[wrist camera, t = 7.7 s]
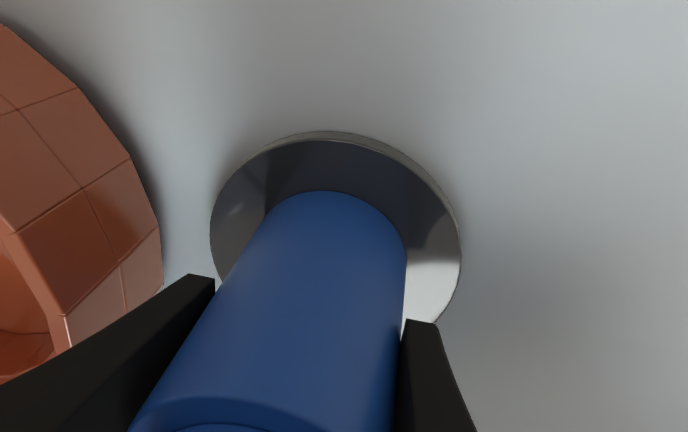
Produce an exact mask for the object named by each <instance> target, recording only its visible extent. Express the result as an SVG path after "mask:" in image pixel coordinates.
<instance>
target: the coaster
mask: <svg viewBox="0 0 688 432" xmlns="http://www.w3.org/2000/svg"><path fill="white" fill-rule="evenodd" d="M312 191H333V192H340V193H344V194H348V195H351V196H353V197H356V198H359V199H361V200H363V201H365V202H367V203H368V204H370V205H371V206H373V207H374V208H376V209H377V210H378V211H380V212H381V213H382V214H383V215H384V216H385V217H386V218H387V219H388V220H389V221H390V222H391V223H392V225H393V226H394V228H395V229H396V230H397V232H398V234H399V236H400V238H401V240H402V242H403V245H404V248H405V253H406V260H407V268H406V280H405V293H404V305H403V317H402V329H401V337H402V333H403V329H404V325H405V321H406V318H408V319H413V320H418V321H423V322H428V323H434V322H436V321H437V319H438V318H439V317H440V316H441V315H442V313H443V312H444V311H445V310H446V308H447V306H448V305H449V303H450V301H451V299H452V298H453V295H454V293H455V290H456V288H457V285H458V281H459V277H460V272H461V258H462V255H461V245H460V236H459V229H458V226H457V222H456V218H455V215H454V213H453V211H452V208H451V206H450V204H449V202H448V200H447V199H446V197H445V195H444V194H443V192H442V190H441V189H440V187H439V186H438V185H437V184H436V183H435V181H434V180H433V179H432V178H431V177H430V175H429V174H427V173H426V172H425V171H424V170H423V169H422V168H421V167H420V166H419V165H418V164H417V163H415V162H414V161H412V160H411V159H410V158H408V157H407V156H405V155H404V154H402V153H401V152H399V151H397V150H395V149H393V148H391V147H389V146H388V145H386V144H383V143H381V142H378V141H375V140H373V139H370V138H367V137H363V136H359V135H355V134H350V133H342V132H333V131H326V132H309V133H302V134H296V135H293V136H289V137H286V138H282V139H280V140H277V141H275V142H273V143H271V144H269V145H266V146H265V147H263V148H262V149H260V150H258V151H257V152H255V153H254V154H252V155H251V156H250V157H249V158H248V159H247V160H246V161H245V162H243V163H242V164H241V165H240V166H239V167H238V169H237V170H236V171H235V172H234V173H233V174H232V175H231V177H230V178H229V179H228V180H227V182H226V183H225V184H224V186H223V188H222V190H221V191H220V193H219V195H218V197H217V200H216V202H215V205H214V208H213V212H212V216H211V221H210V245H211V252H212V256H213V260H214V264H215V267H216V269H217V272H218V274H219V277H220V279H221V280H222V282H223V281H224V279H225V278H226V276H227V275H228V273H229V272H230V270H231V269H232V267H233V265H234V264H235V262H236V261H237V259H238V258H239V256H240V255H241V253H242V252H243V250H244V248H245V247H246V245H247V244H248V242H249V241H250V239H251V238H252V236H253V235H254V233H255V232H256V230H257V228H258V227H259V225H260V224H261V222H262V221H263V219H264V218H265V216H266V215H267V214H268V213H269V212H270V211H271V209H272V208H274V207H275V206H276V205H277V204H279V203H280V202H282V201H284V200H285V199H287V198H289V197H292V196H294V195H297V194H301V193H305V192H312Z"/></svg>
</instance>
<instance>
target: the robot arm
mask: <svg viewBox="0 0 688 432" xmlns="http://www.w3.org/2000/svg"><path fill="white" fill-rule="evenodd" d="M214 295H215V279H214V278H209V277H204V276H199V275H194V274H189V273H188V274H187V275H185V276H184V277H182V278H180V279H179V280H177V281H176V282H174V283H173V284H171V285H170V286H168V287H167V288H165V289H164V290H162V291H161V292H159V293H158V294H156V295H155V296H153V297H152V298H150V299H149V300H147V301H145V302H144V303H142V304H141V305H139V306H138V307H136V308H135V309H133V310H132V311H130V312H129V313H127V314H125V315H124V316H122V317H121V318H119V319H118V320H116V321H114V322H113V323H111V324H110V325H108V326H107V327H105V328H103V329H102V330H100V331H99V332H97V333H95V334H93V335H92V336H90V337H88V338H87V339H85V340H83V341H81V342H80V343H78V344H76V345H74V346H73V347H71V348H69V349H68V350H66V351H64V352H62V353H61V354H59V355H57V356H56V357H54V358H52V359H50V360H48V361H46V362H45V363H43V364H41V365H39V366H37V367H35V368H33V369H31V370H29V371H27V372H26V373H24V374H22V375H20V376H17V377H15V378H13V379H11V380H9V381H7V382H5V383H3V384H1V385H0V432H127V431H128V428H129V426H130V424H131V423H132V421H133V420H134V418H135V416H136V415H137V413H138V412H139V410H140V409H141V407H142V406H143V404H144V403H145V401H146V399H147V398H148V396H149V395H150V393H151V392H152V390H153V389H154V387H155V386H156V384H157V383H158V381H159V379H160V378H161V376H162V375H163V373H164V372H165V370H166V369H167V367H168V366H169V364H170V363H171V361H172V359H173V358H174V356H175V355H176V353H177V352H178V350H179V349H180V347H181V346H182V344H183V342H184V341H185V339H186V338H187V336H188V335H189V333H190V332H191V330H192V329H193V327H194V326H195V324H196V322H197V321H198V319H199V318H200V316H201V315H202V313H203V312H204V310H205V309H206V307H207V305H208V304H209V302H210V301H211V299H212V298H213V296H214ZM393 432H477V430H476V427H475V425H474V423H473V421H472V419H471V416H470V414H469V412H468V409H467V407H466V405H465V402H464V400H463V398H462V395H461V393H460V390H459V388H458V385H457V383H456V380H455V378H454V375H453V372H452V370H451V367H450V364H449V361H448V358H447V355H446V352H445V349H444V346H443V343H442V340H441V336H440V332H439V329H438V328H437V326H436V325H435V324H433V323H428V322H423V321H418V320H413V319H408V318H406V321H405V325H404V329H403V333H402V337H401V341H400V352H399V364H398V376H397V390H396V402H395V414H394V427H393Z"/></svg>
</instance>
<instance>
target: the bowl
mask: <svg viewBox="0 0 688 432" xmlns="http://www.w3.org/2000/svg"><path fill="white" fill-rule="evenodd" d="M163 281H164V276H163V265H162V253H161V242H160V230H159V225H158V221H157V219H156V217H155V214H154V212H153V209H152V207H151V205H150V202H149V200H148V197H147V195H146V193H145V190H144V188H143V185H142V183H141V181H140V178H139V176H138V174H137V171H136V169H135V166H134V164H133V162H132V160H131V159H130V155H129V154H128V152H127V151H126V150H125V148H124V147H123V146H122V144H121V143H120V142H119V140H118V139H117V138H116V136H115V135H114V134H113V132H112V131H111V130H110V128H109V127H108V126H107V124H106V123H105V122H104V120H103V119H102V118H101V116H100V115H99V114H98V112H97V111H96V110H95V108H94V107H93V106H92V104H91V103H90V102H89V100H88V99H87V98H86V96H85V95H84V94H83V92H82V91H81V90H80V89H79V88H78V86H77V85H76V84H74V83H73V82H72V81H71V80H70V79H68V78H67V77H66V76H65V75H64V74H63V73H61V72H60V71H59V70H58V69H57V68H55V67H54V66H53V65H52V64H51V63H50V62H48V61H47V60H46V59H45V58H44V57H42V56H41V55H40V54H39V53H38V52H37V51H35V50H34V49H33V48H32V47H31V46H29V45H28V44H27V43H26V42H25V41H24V40H22V39H21V38H20V37H19V36H18V35H16V34H15V33H14V32H13V31H12V30H11V29H9V28H8V27H4V26H3V25H2V24H0V385H1V384H3V383H5V382H7V381H9V380H11V379H13V378H15V377H17V376H20V375H22V374H24V373H26V372H27V371H29V370H31V369H33V368H35V367H37V366H39V365H41V364H43V363H45V362H46V361H48V360H50V359H52V358H54V357H56V356H57V355H59V354H61V353H62V352H64V351H66V350H68V349H69V348H71V347H73V346H74V345H76V344H78V343H80V342H81V341H83V340H85V339H87V338H88V337H90V336H92V335H93V334H95V333H97V332H99V331H100V330H102V329H103V328H105V327H107V326H108V325H110V324H111V323H113V322H114V321H116V320H118V319H119V318H121V317H122V316H124V315H125V314H127V313H129V312H130V311H132V310H133V309H135V308H136V307H138V306H139V305H141V304H142V303H144V302H145V301H147V300H149V299H150V298H152V297H153V296H155V295H156V294H158V293H159V292H161V290H162V287H163V284H164V282H163Z"/></svg>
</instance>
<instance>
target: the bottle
mask: <svg viewBox="0 0 688 432" xmlns="http://www.w3.org/2000/svg"><path fill="white" fill-rule="evenodd" d="M406 268H407V260H406V253H405V248H404V245H403V242H402V240H401V238H400V236H399V234H398V232H397V230H396V229H395V228H394V226H393V225H392V223H391V222H390V221H389V220H388V219H387V218H386V217H385V216H384V215H383V214H382V213H381V212H380V211H378V210H377V209H376V208H374V207H373V206H371V205H370V204H368V203H367V202H365V201H363V200H361V199H359V198H356V197H353V196H351V195H348V194H344V193H340V192H333V191H312V192H305V193H301V194H297V195H294V196H292V197H289V198H287V199H285V200H284V201H282V202H280V203H279V204H277V205H276V206H275V207H274V208H272V209H271V211H270V212H269V213H268V214H267V215H266V216H265V218H264V219H263V221H262V222H261V224H260V225H259V227H258V228H257V230H256V232H255V233H254V235H253V236H252V238H251V239H250V241H249V242H248V244H247V245H246V247H245V248H244V250H243V252H242V253H241V255H240V256H239V258H238V259H237V261H236V262H235V264H234V265H233V267H232V269H231V270H230V272H229V273H228V275H227V276H226V278H225V279H224V281H223V282H222V284H221V285H220V287H219V289H218V290H217V292H216V293H215V295H214V296H213V298H212V299H211V301H210V302H209V304H208V305H207V307H206V309H205V310H204V312H203V313H202V315H201V316H200V318H199V319H198V321H197V322H196V324H195V326H194V327H193V329H192V330H191V332H190V333H189V335H188V336H187V338H186V339H185V341H184V342H183V344H182V346H181V347H180V349H179V350H178V352H177V353H176V355H175V356H174V358H173V359H172V361H171V363H170V364H169V366H168V367H167V369H166V370H165V372H164V373H163V375H162V376H161V378H160V379H159V381H158V383H157V384H156V386H155V387H154V389H153V390H152V392H151V393H150V395H149V396H148V398H147V399H146V401H145V403H144V404H143V406H142V407H141V409H140V410H139V412H138V413H137V415H136V416H135V418H134V420H133V421H132V423H131V424H130V426H129V428H128V431H127V432H393V427H394V414H395V402H396V390H397V376H398V364H399V352H400V341H401V329H402V317H403V305H404V293H405V280H406Z"/></svg>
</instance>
